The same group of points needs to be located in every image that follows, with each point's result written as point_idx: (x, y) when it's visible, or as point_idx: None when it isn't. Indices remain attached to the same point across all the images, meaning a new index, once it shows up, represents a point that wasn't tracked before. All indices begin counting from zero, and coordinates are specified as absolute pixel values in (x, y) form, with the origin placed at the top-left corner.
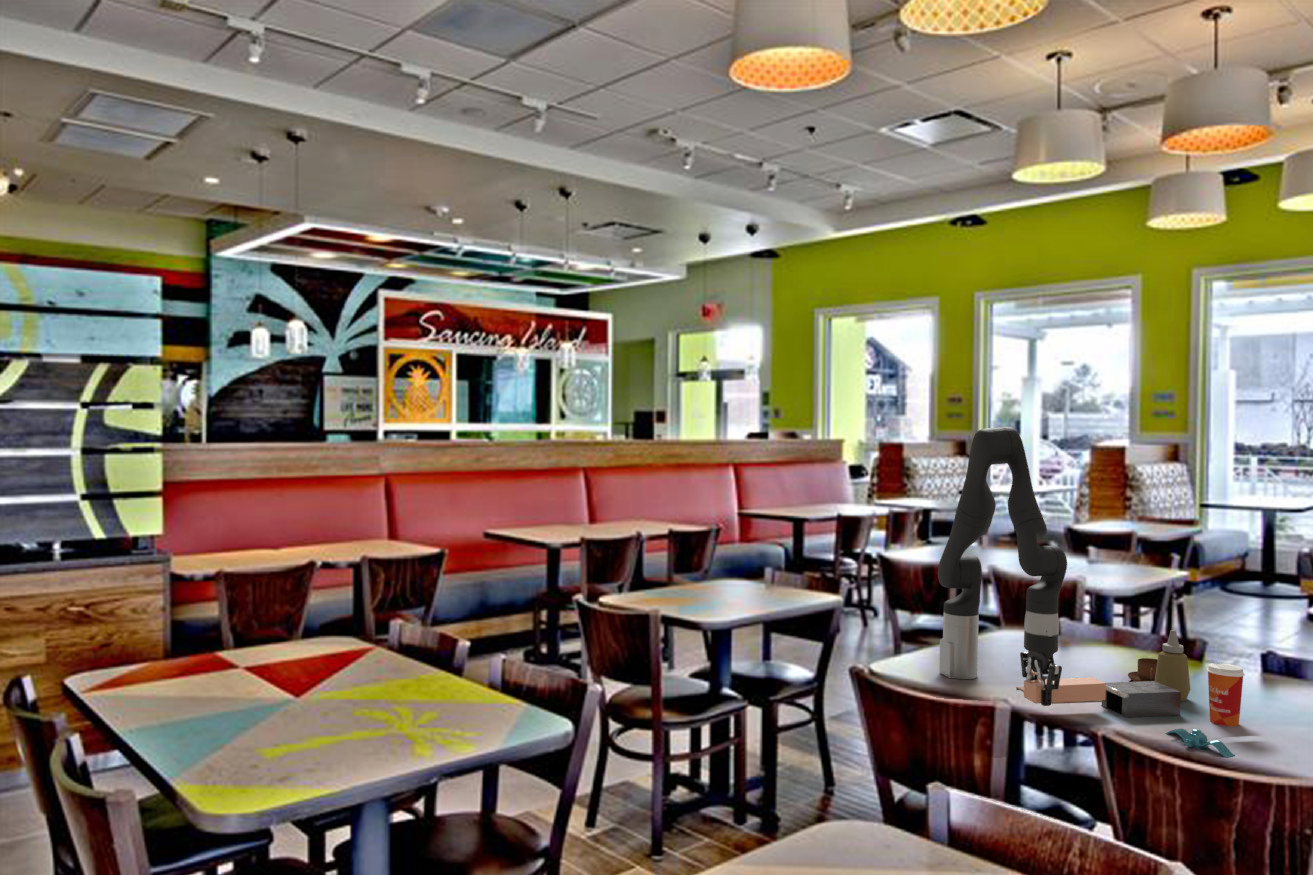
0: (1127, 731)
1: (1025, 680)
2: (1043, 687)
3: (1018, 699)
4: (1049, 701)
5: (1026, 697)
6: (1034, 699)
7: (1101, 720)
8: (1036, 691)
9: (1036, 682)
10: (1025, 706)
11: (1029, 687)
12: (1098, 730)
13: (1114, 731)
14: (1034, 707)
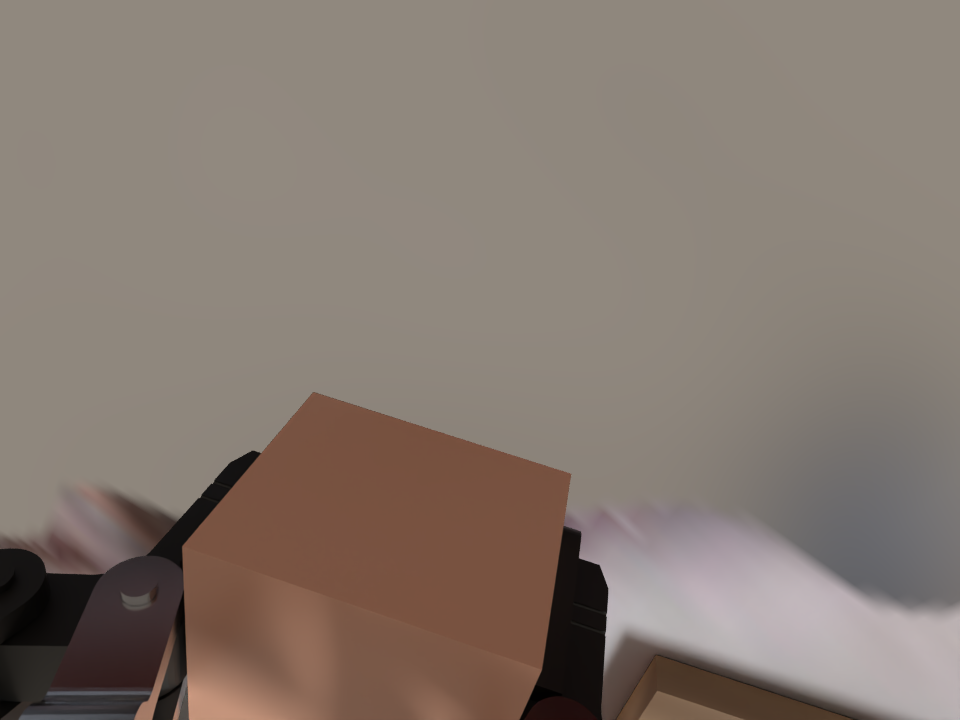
0: None
1: (532, 681)
2: (122, 584)
3: (956, 667)
4: None
5: (509, 463)
6: (318, 421)
7: None
8: (229, 495)
9: (377, 703)
10: (772, 564)
11: (394, 552)
12: (127, 514)
13: (106, 566)
14: (708, 594)
